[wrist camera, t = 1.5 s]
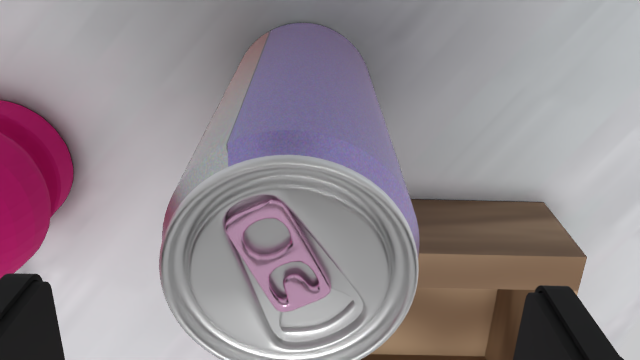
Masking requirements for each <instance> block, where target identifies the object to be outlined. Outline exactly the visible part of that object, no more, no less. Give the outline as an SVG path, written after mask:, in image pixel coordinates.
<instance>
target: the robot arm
mask: <svg viewBox="0 0 640 360" xmlns="http://www.w3.org/2000/svg"><path fill="white" fill-rule="evenodd" d="M0 360H65V358H64V352H63V347H62V342H61V336H60V331H59V326H58V321H57V315H56V310H55V305H54V299H53V294H52V289H51V285H50V284H49V283H48V282H43V281H42V278H41V277H40V275H38V274H14V273H9V274H5V275H4V276H3V277H1V279H0ZM513 360H624V359H623V358H622V357H620V356H619V355H618V353H617V352H616V350H615V349H614V348H613V346H612V345H611V343H610V342H609V340H608V339H607V338H606V336H605V335H604V333H603V332H602V331H601V329H600V328H599V326H598V325H597V324H596V322H595V321H594V319H593V318H592V316H591V315H590V314H589V312H588V311H587V309H586V308H585V307H584V305H583V304H582V302H581V301H580V299H579V298H578V297H577V295H576V294H575V292H574V291H573V290H572V289H571V288H570V287H569V286H549V285H540V286H538V287H537V288H536V289H535V292H534V293H533V292H530V293H528V294H527V296H526V299H525V303H524V308H523V313H522V318H521V323H520V327H519V332H518V337H517V342H516V347H515V352H514V356H513Z"/></svg>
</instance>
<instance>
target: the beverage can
mask: <svg viewBox="0 0 640 360" xmlns="http://www.w3.org/2000/svg"><path fill="white" fill-rule="evenodd" d="M419 245H420V242H419V229H418V223H417V219H416V215H415V212H414V209H413V206H412V203H411V200H410V197H409V194H408V191H407V188H406V184H405V181H404V178H403V175H402V172H401V169H400V166H399V163H398V160H397V157H396V154H395V151H394V148H393V145H392V142H391V139H390V136H389V133H388V130H387V127H386V124H385V121H384V118H383V115H382V112H381V109H380V106H379V103H378V100H377V97H376V93H375V90H374V87H373V84H372V81H371V78H370V75H369V72H368V69H367V67H366V64H365V62H364V60H363V58H362V56H361V55H360V53H359V52H358V50H357V49H356V48H355V47H354V45H353V44H352V43H351V42H350V41H348V40H347V39H346V38H345V37H344V36H342V35H341V34H339V33H337V32H336V31H334V30H332V29H330V28H327V27H324V26H321V25H317V24H311V23H294V24H288V25H284V26H280V27H278V28H275V29H273V30H271V31H269V32H267V33H266V34H264V35H263V36H261V37H260V38H259V39H257V40H256V41H255V42H254V43H253V44H252V45H251V47H250V48H249V49H248V50H247V52H246V53H245V55H244V57H243V58H242V60H241V62H240V64H239V66H238V68H237V70H236V72H235V74H234V76H233V78H232V80H231V82H230V84H229V86H228V88H227V90H226V92H225V94H224V96H223V97H222V99H221V101H220V103H219V105H218V107H217V109H216V111H215V113H214V115H213V117H212V119H211V121H210V123H209V125H208V127H207V129H206V131H205V133H204V135H203V137H202V139H201V141H200V143H199V145H198V146H197V148H196V150H195V152H194V154H193V156H192V158H191V160H190V162H189V164H188V166H187V168H186V170H185V172H184V174H183V176H182V178H181V180H180V182H179V184H178V186H177V188H176V190H175V192H174V193H173V195H172V197H171V200H170V202H169V205H168V207H167V211H166V214H165V218H164V223H163V231H162V245H161V250H160V259H159V270H160V280H161V285H162V289H163V293H164V296H165V299H166V301H167V303H168V306H169V308H170V310H171V312H172V313H173V315H174V317H175V318H176V320H177V321H178V323H179V324H180V326H181V327H182V328H183V329H184V331H185V332H186V333H187V334H188V335H189V336H190V337H191V338H192V339H193V340H194V341H195V342H196V343H197V344H199V345H200V346H201V347H203V348H204V349H205V350H207V351H208V352H209V353H211V354H212V355H214V356H216V357H218V358H219V359H221V360H361V359H362V358H364V357H366V356H367V355H369V354H370V353H372V352H373V351H375V350H376V349H377V348H379V347H380V346H381V345H382V344H383V343H384V342H386V341H387V340H388V339H389V338H390V337H391V335H392V334H393V333H394V332H395V331H396V330H397V328H398V327H399V326H400V324H401V323H402V321H403V320H404V318H405V316H406V315H407V313H408V311H409V309H410V307H411V304H412V302H413V299H414V296H415V292H416V288H417V282H418V271H419V267H418V256H419Z"/></svg>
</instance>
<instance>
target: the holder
mask: <svg viewBox="0 0 640 360" xmlns="http://www.w3.org/2000/svg"><path fill="white" fill-rule="evenodd" d="M410 200H411V203H412V206H413V209H414V212H415V215H416V219H417V223H418V229H419V242H420V245H419V256H418V267H419V271H418V282H417V288H416V292H415V296H414V299H413V302H412V304H411V307H410V309H409V311H408V313H407V315H406V316H405V318H404V320H403V321H402V323H401V324H400V326H399V327H398V328H397V330H396V331H395V332H394V333H393V334H392V335H391V337H390V338H389V339H388V340H387V341H386V342H384V343H383V344H382V345H381V346H380V347H379V348H377V349H376V350H375V351H373V352H372V353H370V354H369V355H367V356H366V357H364V358H362V359H361V360H513V356H514V352H515V347H516V342H517V337H518V332H519V327H520V323H521V318H522V313H523V308H524V303H525V299H526V296H527V294H528V293H530V292H533V293H534V292H535V289H536V288H537V287H538V286H540V285H549V286H569V287H570V288H571V289H572V290H573V291H574V292H575V294H576V295H577V293H578V289H579V285H580V282H581V278H582V274H583V270H584V267H585V263H586V259H587V257H586V255H585V254H584V253H583V251H582V250H581V249H580V248H579V246H578V245H577V244H576V243H575V241H574V240H573V239H572V238H571V236H570V235H569V234H568V232H567V231H566V230H565V229H564V227H563V226H562V225H561V224H560V222H559V221H558V220H557V219H556V217H555V216H554V215H553V213H552V212H551V211H550V210H549V208H548V207H547V206H546V205H545V203H544V202H506V201H463V200H421V199H410Z"/></svg>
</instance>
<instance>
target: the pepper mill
mask: <svg viewBox="0 0 640 360" xmlns="http://www.w3.org/2000/svg"><path fill="white" fill-rule="evenodd" d="M72 182H73V164H72V160H71V156H70V153H69V151H68V148H67V146H66V144H65V143H64V141H63V140H62V138H61V137H60V135H59V134H58V132H57V131H56V130H55V129H54V128H53V127H52V126H51V125H50V124H49V123H48V122H47V121H46V120H45V119H44V118H42V117H41V116H40V115H38V114H36V113H35V112H33V111H31V110H29V109H27V108H25V107H23V106H21V105H18V104H15V103H12V102H8V101H1V100H0V279H1V277H3V276H4V275H5V274H9V273H15V272H16V271H17V270H18V269H19V268H20V267H21V266H22V265H24V264H25V263H26V262H27V261H28V260H29V259H30V258H31V257H32V256H33V255H34V254H35V252H36V251H37V250H38V249H39V248H40V246H41V244H42V242H43V240H44V238H45V236H46V233H47V231H48V228H49V224H50V217H51V216H52V215H53V214H54V213H55V212H56V211H57V210H58V208H59V207H60V206H61V205H62V204H63V203H64V201H65V200H66V198H67V196H68V194H69V192H70V189H71V186H72Z"/></svg>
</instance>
